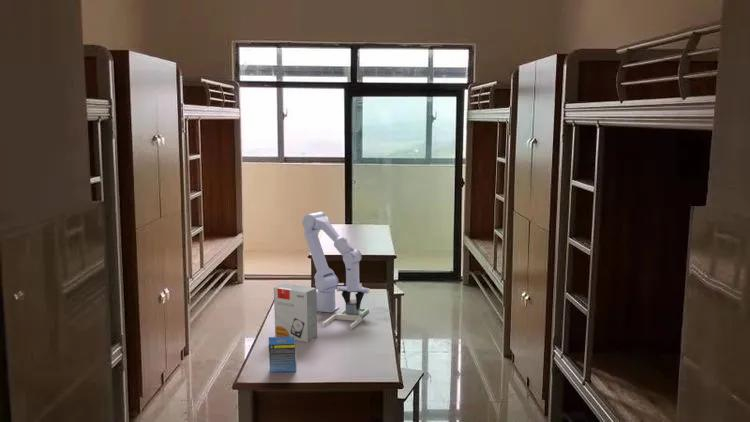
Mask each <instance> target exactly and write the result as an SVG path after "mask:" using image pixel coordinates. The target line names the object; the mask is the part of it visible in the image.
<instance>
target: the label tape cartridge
mask: <svg viewBox="0 0 750 422" xmlns="http://www.w3.org/2000/svg"><path fill="white" fill-rule="evenodd" d="M268 355H269V356H268V357H269V372H270V373H280V372H283V373H285V372H286V373H287V372H297V346H296V343H295V340H294V337H277V336H273V337H272V336H270V337H268Z"/></svg>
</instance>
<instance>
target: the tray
mask: <svg viewBox="0 0 750 422" xmlns="http://www.w3.org/2000/svg"><path fill="white" fill-rule="evenodd" d="M369 312H370V309H369V308H365V307H360V312H358V313H357V314H356V315H355V316H360V317H362V318H363V317H364V316H366V315H367V314H368V313H369ZM338 314H343V315H347V314H346V308H344V309H343V310H342V311H340V312H339V313H338Z"/></svg>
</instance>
